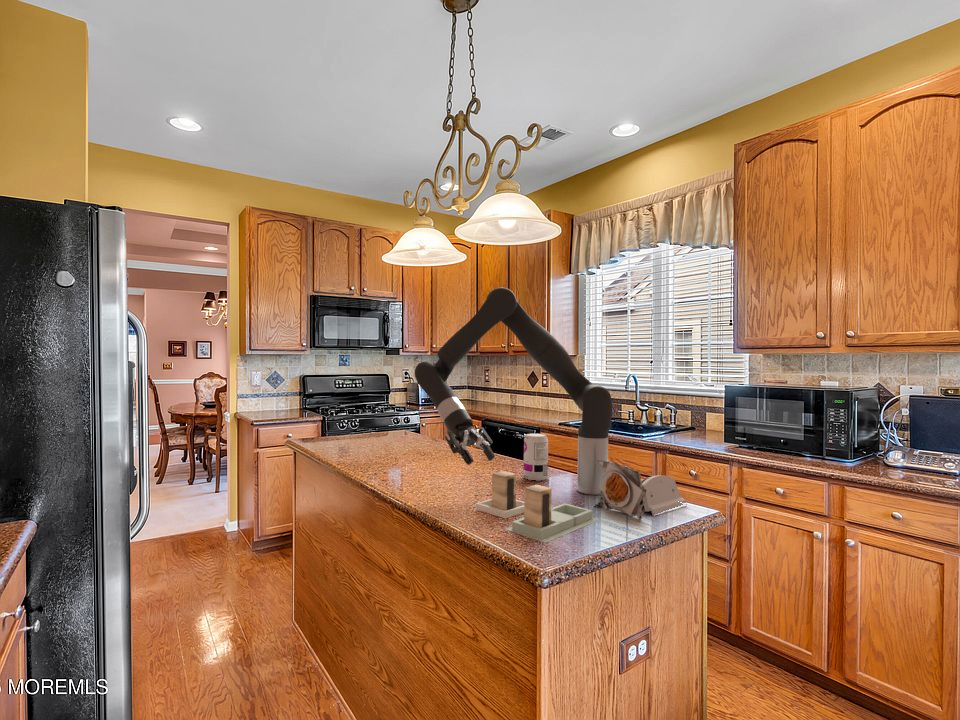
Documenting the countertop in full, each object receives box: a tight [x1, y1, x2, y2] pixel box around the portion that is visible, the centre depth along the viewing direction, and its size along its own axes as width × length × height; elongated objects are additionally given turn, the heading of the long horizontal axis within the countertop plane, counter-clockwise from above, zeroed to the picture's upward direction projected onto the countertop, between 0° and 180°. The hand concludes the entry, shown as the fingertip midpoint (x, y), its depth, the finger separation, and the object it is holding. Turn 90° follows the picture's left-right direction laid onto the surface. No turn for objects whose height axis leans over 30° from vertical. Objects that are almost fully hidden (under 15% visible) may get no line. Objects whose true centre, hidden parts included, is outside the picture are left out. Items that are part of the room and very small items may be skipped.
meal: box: [593, 460, 646, 521], centre depth 136 cm, size 15×4×13 cm, turn 35°
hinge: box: [640, 474, 687, 516], centre depth 141 cm, size 17×5×10 cm, turn 128°
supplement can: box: [522, 432, 549, 482], centre depth 173 cm, size 8×8×15 cm
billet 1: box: [491, 470, 517, 511], centre depth 134 cm, size 4×5×10 cm
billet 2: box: [523, 484, 553, 528], centre depth 118 cm, size 4×5×10 cm
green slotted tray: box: [504, 503, 601, 544], centre depth 123 cm, size 23×12×3 cm, turn 136°
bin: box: [475, 498, 525, 519], centre depth 134 cm, size 11×11×2 cm
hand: (481, 460), depth 140 cm, fingers open, 8 cm apart
